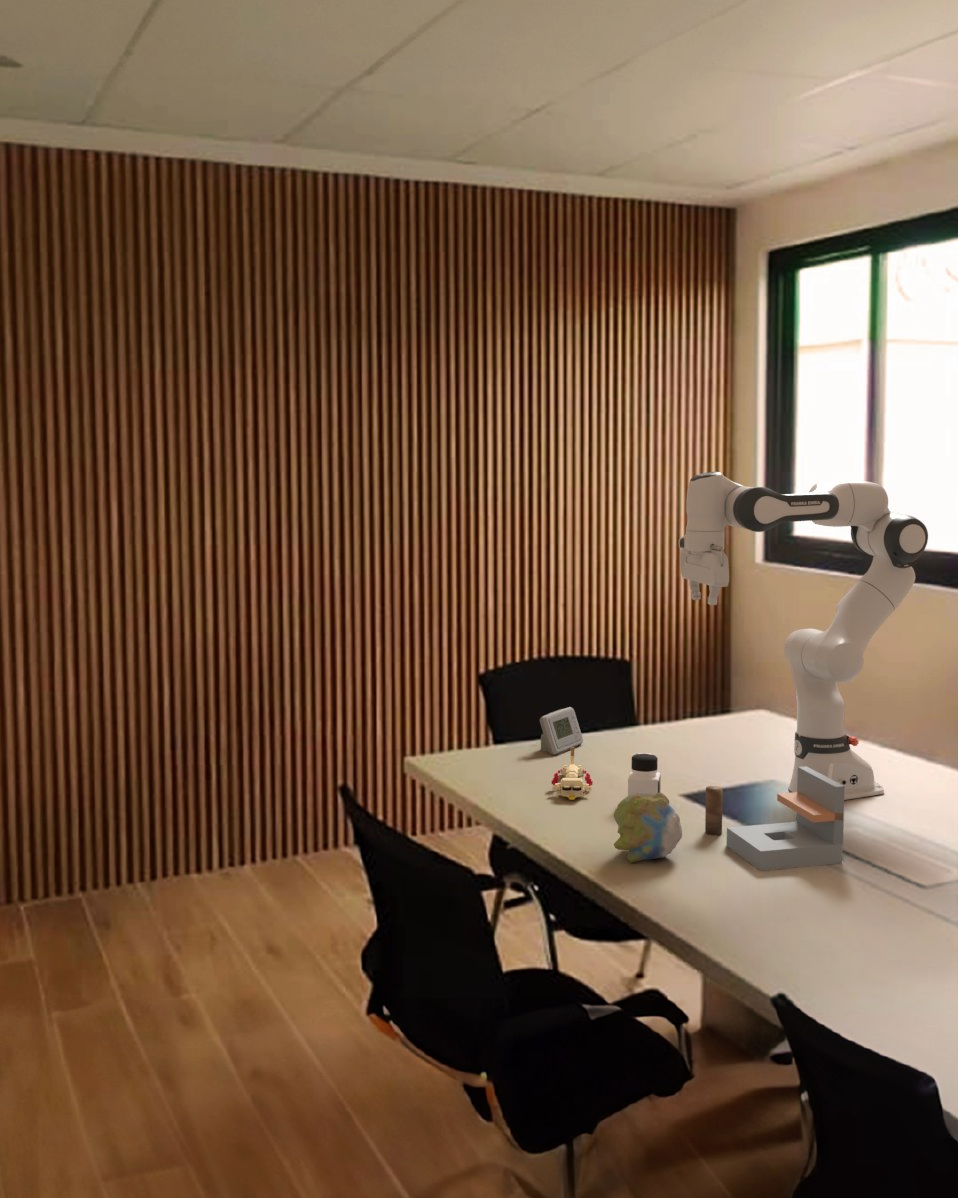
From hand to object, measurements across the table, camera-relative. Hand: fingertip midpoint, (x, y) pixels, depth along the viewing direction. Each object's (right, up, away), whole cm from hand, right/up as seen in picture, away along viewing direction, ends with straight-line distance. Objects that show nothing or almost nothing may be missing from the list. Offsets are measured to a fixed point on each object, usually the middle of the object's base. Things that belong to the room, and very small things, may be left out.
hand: (704, 602), depth 298 cm
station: (+10, -52, -33) cm, 63 cm away
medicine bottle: (-14, -48, +3) cm, 50 cm away
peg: (-1, -50, -18) cm, 54 cm away
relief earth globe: (-19, -53, -34) cm, 65 cm away
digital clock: (-29, -41, +56) cm, 76 cm away
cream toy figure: (-29, -46, +18) cm, 58 cm away
